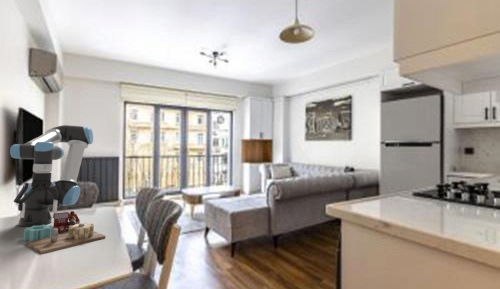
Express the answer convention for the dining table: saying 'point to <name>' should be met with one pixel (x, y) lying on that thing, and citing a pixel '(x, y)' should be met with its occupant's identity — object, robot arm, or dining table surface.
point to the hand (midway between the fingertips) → (39, 215)
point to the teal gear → (37, 232)
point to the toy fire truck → (64, 220)
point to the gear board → (66, 238)
